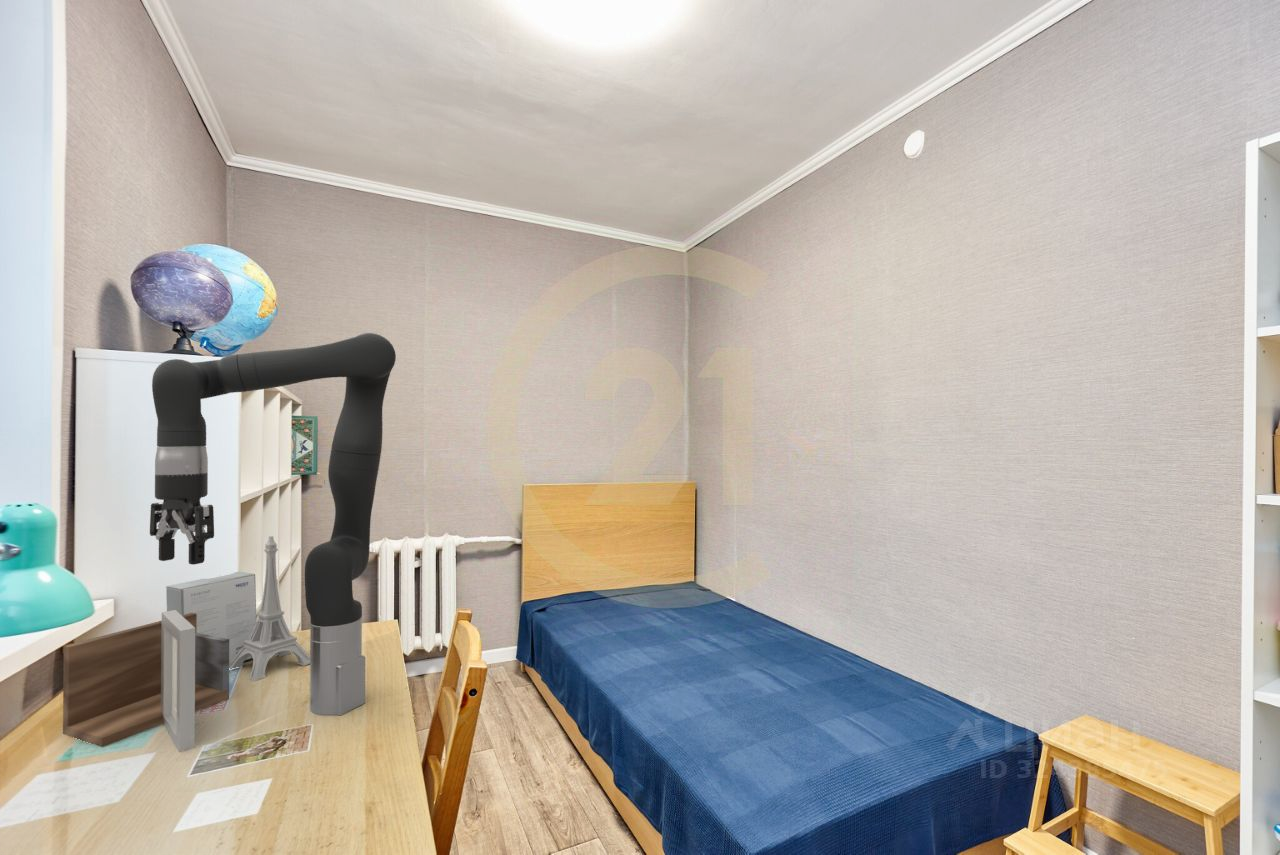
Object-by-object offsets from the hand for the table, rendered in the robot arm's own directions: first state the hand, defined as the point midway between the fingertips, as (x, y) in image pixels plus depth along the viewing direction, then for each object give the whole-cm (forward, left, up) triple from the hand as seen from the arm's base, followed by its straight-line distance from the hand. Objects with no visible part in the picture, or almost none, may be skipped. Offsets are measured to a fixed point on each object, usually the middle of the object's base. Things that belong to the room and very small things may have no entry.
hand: (181, 561), depth 106 cm
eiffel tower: (+15, -28, -31) cm, 44 cm away
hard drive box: (+26, -22, -31) cm, 46 cm away
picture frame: (0, 0, -31) cm, 31 cm away
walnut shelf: (+12, -2, -31) cm, 33 cm away
